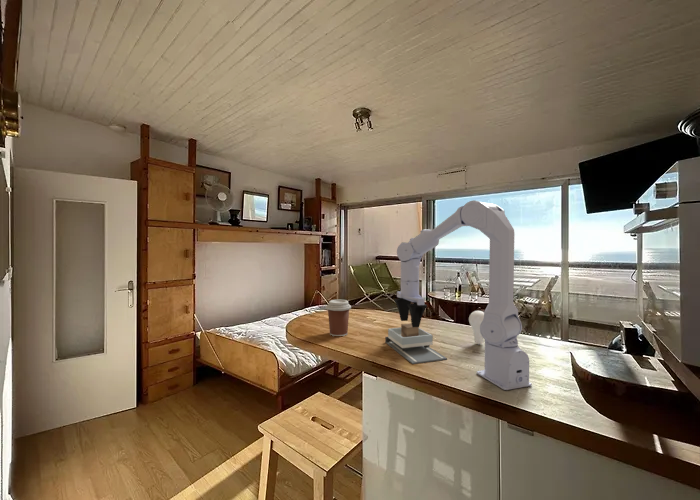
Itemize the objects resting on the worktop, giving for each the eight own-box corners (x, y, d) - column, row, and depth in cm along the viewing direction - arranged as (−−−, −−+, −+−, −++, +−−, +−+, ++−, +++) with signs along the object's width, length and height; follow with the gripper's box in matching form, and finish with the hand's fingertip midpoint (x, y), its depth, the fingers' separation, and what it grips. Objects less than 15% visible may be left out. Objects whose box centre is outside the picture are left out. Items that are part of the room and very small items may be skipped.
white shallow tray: (432, 348, 92) (432, 335, 92) (402, 352, 89) (402, 338, 89) (415, 338, 102) (415, 326, 102) (388, 341, 99) (388, 328, 99)
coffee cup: (322, 336, 106) (322, 302, 106) (331, 329, 115) (331, 298, 115) (346, 339, 104) (346, 304, 103) (354, 331, 113) (354, 299, 112)
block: (418, 339, 94) (418, 326, 94) (407, 340, 93) (407, 327, 93) (412, 335, 98) (412, 323, 98) (401, 336, 97) (401, 324, 97)
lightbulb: (491, 348, 95) (491, 313, 94) (470, 346, 96) (470, 312, 96) (486, 341, 101) (486, 309, 100) (467, 340, 102) (467, 308, 102)
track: (447, 359, 86) (447, 352, 86) (412, 364, 82) (412, 357, 82) (414, 339, 103) (414, 333, 103) (385, 342, 100) (385, 336, 100)
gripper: (388, 278, 101) (388, 318, 101) (409, 284, 87) (409, 331, 87) (407, 277, 103) (407, 317, 103) (430, 283, 89) (430, 328, 89)
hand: (409, 323), depth 95 cm, fingers open, 7 cm apart
